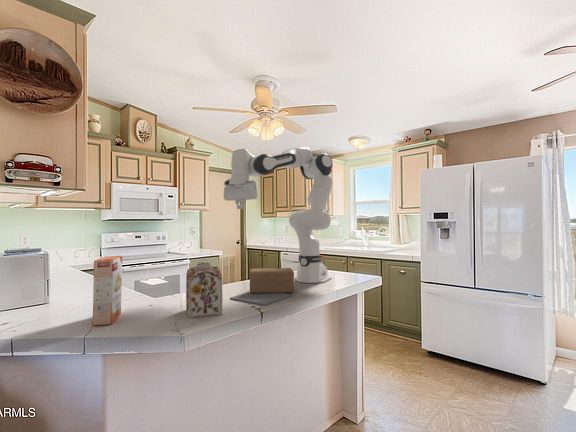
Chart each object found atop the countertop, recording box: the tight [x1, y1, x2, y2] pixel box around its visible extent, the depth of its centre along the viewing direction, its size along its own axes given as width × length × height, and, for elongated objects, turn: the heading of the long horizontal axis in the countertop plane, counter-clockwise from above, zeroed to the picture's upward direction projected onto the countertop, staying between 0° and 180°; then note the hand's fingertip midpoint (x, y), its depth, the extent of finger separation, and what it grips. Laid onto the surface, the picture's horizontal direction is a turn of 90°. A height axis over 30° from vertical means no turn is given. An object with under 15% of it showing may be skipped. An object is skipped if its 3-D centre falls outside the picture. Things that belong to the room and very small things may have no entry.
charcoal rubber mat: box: [229, 291, 294, 307], centre depth 137 cm, size 20×19×1 cm
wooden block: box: [249, 267, 295, 294], centre depth 147 cm, size 10×10×20 cm
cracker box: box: [92, 255, 123, 327], centre depth 107 cm, size 14×6×21 cm, turn 17°
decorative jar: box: [185, 261, 223, 319], centre depth 115 cm, size 12×12×18 cm
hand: (240, 209), depth 159 cm, fingers closed
